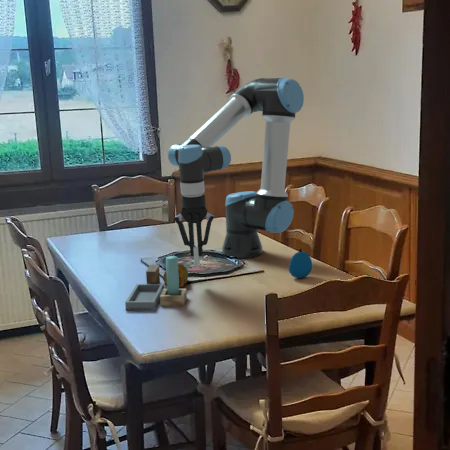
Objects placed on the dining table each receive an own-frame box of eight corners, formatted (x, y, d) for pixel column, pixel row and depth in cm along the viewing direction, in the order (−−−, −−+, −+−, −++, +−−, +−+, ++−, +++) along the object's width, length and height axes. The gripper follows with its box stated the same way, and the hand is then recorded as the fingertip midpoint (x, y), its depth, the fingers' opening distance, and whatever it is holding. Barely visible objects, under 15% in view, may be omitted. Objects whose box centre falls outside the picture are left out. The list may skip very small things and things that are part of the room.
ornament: (308, 274, 234) (308, 245, 232) (314, 277, 230) (314, 248, 228) (286, 277, 232) (285, 248, 229) (292, 281, 227) (292, 252, 225)
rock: (161, 297, 229) (161, 270, 234) (186, 298, 231) (186, 271, 236) (166, 282, 219) (166, 254, 225) (192, 284, 221) (192, 256, 226)
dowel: (180, 299, 214) (178, 256, 210) (178, 303, 210) (176, 259, 207) (169, 299, 214) (166, 256, 211) (167, 303, 210) (164, 259, 207)
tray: (163, 291, 221) (163, 284, 221) (154, 310, 205) (153, 302, 205) (137, 291, 222) (136, 284, 222) (125, 310, 206) (125, 302, 205)
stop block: (160, 282, 231) (159, 265, 229) (156, 289, 224) (155, 271, 222) (151, 282, 231) (150, 265, 229) (147, 289, 224) (146, 271, 223)
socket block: (186, 297, 215) (186, 288, 214) (183, 305, 208) (183, 296, 208) (164, 297, 216) (163, 288, 215) (160, 305, 209) (160, 296, 208)
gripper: (214, 191, 222) (218, 261, 228) (174, 192, 223) (179, 262, 229) (212, 196, 215) (216, 268, 221) (170, 197, 216) (175, 269, 222)
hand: (197, 265), depth 225 cm, fingers closed
